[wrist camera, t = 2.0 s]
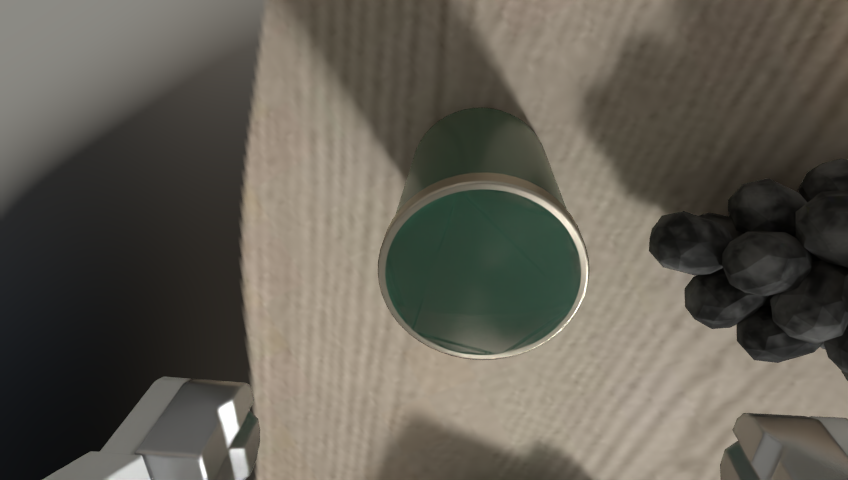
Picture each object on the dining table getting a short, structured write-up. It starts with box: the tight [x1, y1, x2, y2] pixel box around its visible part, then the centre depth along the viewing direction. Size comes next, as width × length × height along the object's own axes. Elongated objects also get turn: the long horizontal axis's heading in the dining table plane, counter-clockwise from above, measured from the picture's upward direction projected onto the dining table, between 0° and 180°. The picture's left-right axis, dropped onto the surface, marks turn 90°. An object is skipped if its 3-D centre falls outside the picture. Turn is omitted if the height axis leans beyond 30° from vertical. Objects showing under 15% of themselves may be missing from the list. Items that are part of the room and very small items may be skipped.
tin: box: [378, 108, 589, 360], centre depth 15 cm, size 5×5×7 cm
